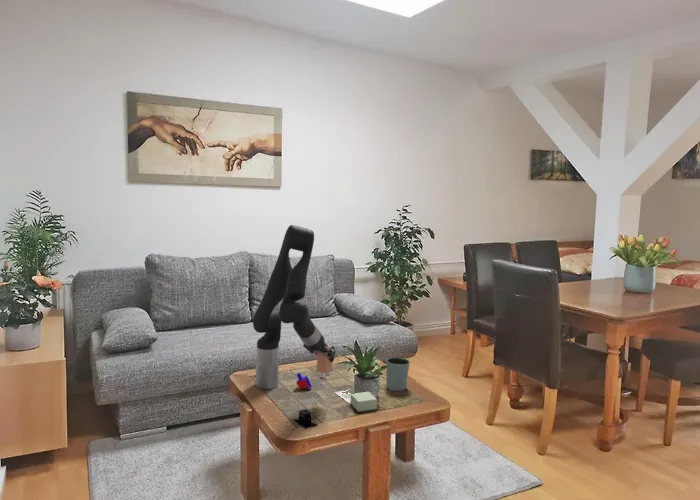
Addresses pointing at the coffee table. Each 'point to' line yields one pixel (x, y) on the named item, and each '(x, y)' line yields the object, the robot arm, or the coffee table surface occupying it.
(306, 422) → the black piece
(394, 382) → the blue-grey cup
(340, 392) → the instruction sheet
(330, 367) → the terracotta brick
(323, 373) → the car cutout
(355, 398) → the base brick
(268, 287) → the robot arm
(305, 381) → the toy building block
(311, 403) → the coffee table surface
